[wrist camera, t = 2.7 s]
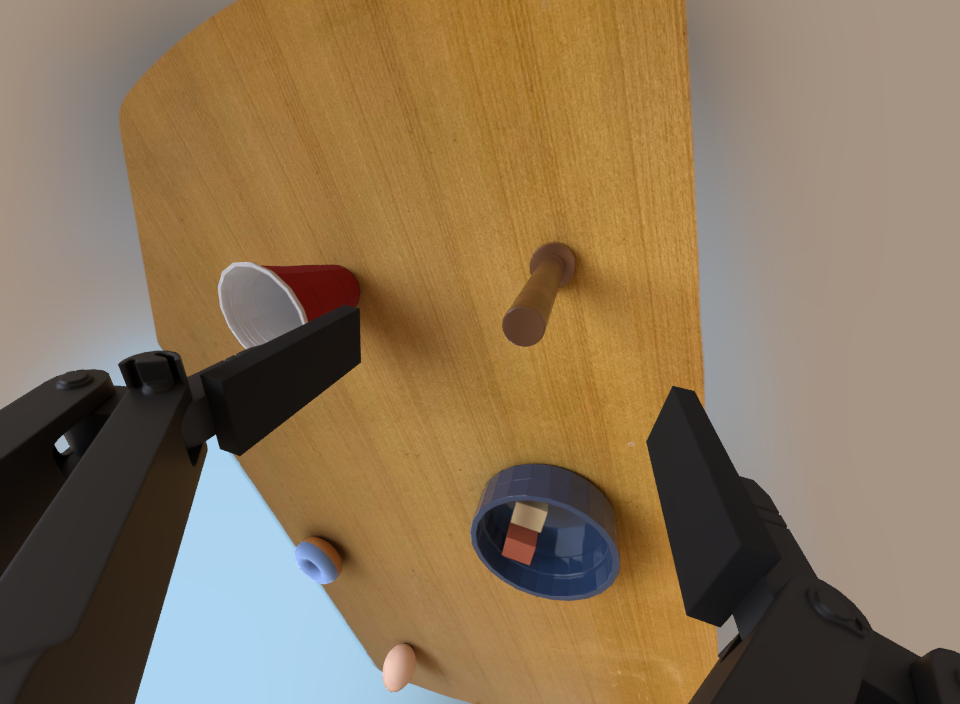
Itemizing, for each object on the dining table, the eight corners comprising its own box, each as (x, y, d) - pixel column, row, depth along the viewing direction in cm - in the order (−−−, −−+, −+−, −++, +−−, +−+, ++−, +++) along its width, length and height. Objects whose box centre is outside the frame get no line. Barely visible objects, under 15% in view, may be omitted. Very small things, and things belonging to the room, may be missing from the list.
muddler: (581, 246, 33) (573, 298, 18) (569, 290, 35) (553, 371, 20) (536, 237, 34) (491, 280, 19) (527, 281, 36) (479, 352, 21)
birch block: (550, 488, 46) (547, 512, 43) (544, 508, 48) (540, 533, 45) (521, 478, 47) (516, 501, 43) (516, 498, 49) (510, 522, 45)
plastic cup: (287, 254, 43) (190, 276, 33) (356, 232, 39) (272, 249, 29) (323, 334, 47) (247, 377, 37) (390, 322, 43) (326, 365, 33)
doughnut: (300, 548, 73) (284, 569, 69) (310, 523, 68) (292, 545, 64) (341, 573, 72) (326, 596, 68) (353, 550, 67) (338, 573, 63)
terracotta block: (539, 522, 49) (535, 547, 46) (533, 540, 51) (529, 565, 48) (512, 513, 50) (506, 537, 47) (507, 530, 52) (501, 555, 49)
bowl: (636, 488, 43) (643, 529, 38) (593, 575, 52) (593, 618, 46) (493, 443, 47) (480, 476, 41) (474, 532, 55) (463, 568, 50)
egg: (426, 656, 77) (410, 702, 70) (403, 654, 80) (385, 698, 73) (411, 636, 75) (393, 682, 68) (388, 635, 78) (369, 679, 71)
